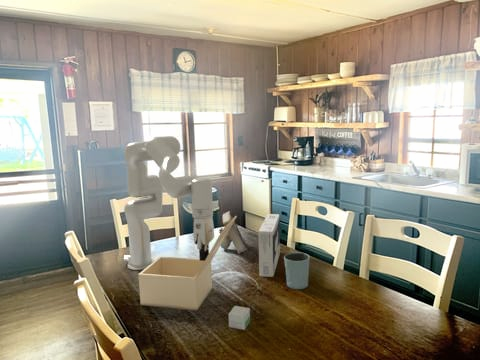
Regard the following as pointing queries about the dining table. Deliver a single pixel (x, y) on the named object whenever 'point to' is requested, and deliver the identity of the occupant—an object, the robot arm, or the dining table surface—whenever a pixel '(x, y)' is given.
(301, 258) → the blue gray cup
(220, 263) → the dining table surface
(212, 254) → the lid flap
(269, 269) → the packaging
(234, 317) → the small box
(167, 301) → the carton
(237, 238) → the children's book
